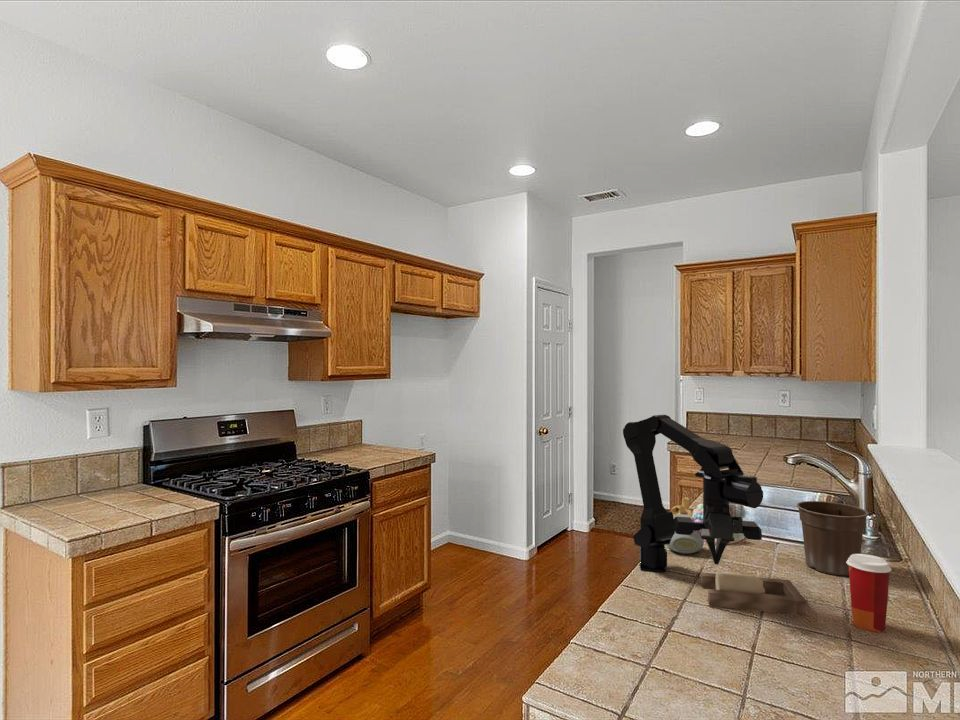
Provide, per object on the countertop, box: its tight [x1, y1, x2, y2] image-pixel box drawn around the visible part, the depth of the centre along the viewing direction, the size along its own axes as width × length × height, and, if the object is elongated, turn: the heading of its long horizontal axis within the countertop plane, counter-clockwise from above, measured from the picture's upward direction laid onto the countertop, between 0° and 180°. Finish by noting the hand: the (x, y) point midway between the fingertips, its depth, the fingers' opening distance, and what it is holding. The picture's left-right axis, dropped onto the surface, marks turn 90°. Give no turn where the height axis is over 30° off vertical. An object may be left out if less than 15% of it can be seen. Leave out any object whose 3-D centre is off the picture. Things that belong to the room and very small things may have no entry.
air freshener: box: [665, 514, 705, 555], centre depth 160 cm, size 11×8×10 cm
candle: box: [715, 571, 765, 594], centre depth 128 cm, size 6×6×10 cm
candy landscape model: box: [671, 497, 746, 545], centre depth 179 cm, size 25×24×9 cm
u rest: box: [700, 572, 808, 616], centre depth 127 cm, size 20×12×3 cm, turn 76°
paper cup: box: [846, 553, 892, 633], centre depth 115 cm, size 8×8×14 cm
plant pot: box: [796, 500, 869, 576], centre depth 146 cm, size 16×16×16 cm
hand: (716, 563), depth 129 cm, fingers closed
